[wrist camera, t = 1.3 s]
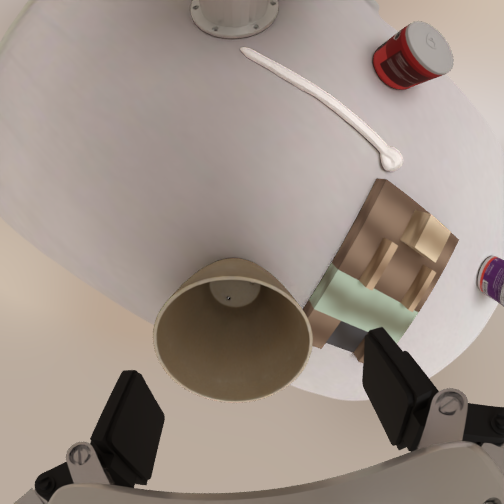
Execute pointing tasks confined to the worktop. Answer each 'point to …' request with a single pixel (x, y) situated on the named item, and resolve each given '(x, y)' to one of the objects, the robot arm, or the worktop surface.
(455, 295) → the worktop surface
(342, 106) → the white knobbed rod
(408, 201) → the wooden block puzzle
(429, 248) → the block
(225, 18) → the robot arm
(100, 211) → the worktop surface
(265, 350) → the plant pot
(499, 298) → the pill bottle
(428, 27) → the canned food
